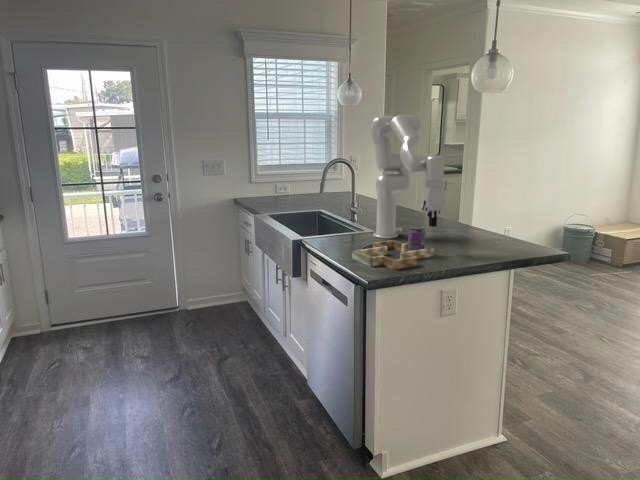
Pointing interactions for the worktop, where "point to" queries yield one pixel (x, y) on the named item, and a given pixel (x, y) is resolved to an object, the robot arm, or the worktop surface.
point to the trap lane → (381, 249)
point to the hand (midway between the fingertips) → (432, 226)
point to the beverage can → (416, 238)
